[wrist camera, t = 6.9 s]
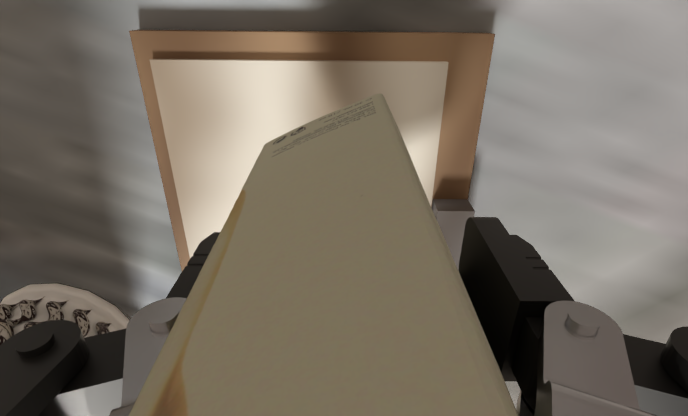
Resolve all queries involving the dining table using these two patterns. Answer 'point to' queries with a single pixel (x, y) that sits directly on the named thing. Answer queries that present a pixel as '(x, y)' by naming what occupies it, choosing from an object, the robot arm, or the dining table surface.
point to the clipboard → (305, 109)
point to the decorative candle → (58, 310)
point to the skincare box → (329, 292)
